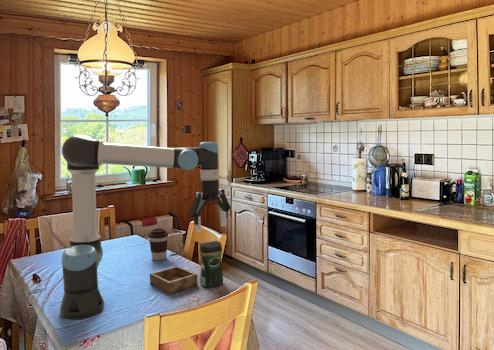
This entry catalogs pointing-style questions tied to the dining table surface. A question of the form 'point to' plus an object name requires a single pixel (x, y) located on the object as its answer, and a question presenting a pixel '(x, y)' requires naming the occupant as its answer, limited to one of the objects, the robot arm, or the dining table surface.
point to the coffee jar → (211, 264)
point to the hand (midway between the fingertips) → (211, 229)
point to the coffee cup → (158, 243)
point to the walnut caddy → (173, 280)
